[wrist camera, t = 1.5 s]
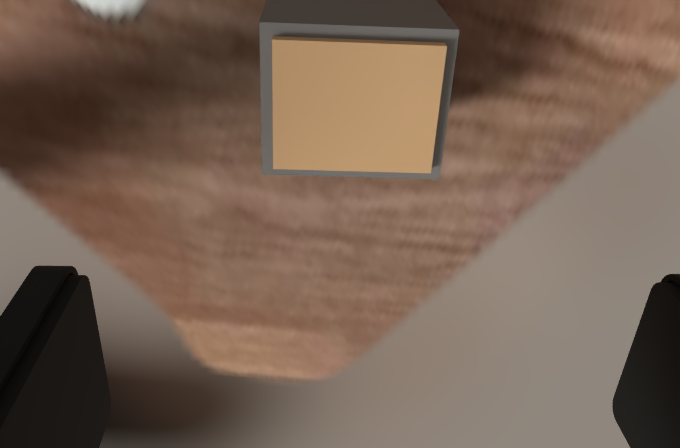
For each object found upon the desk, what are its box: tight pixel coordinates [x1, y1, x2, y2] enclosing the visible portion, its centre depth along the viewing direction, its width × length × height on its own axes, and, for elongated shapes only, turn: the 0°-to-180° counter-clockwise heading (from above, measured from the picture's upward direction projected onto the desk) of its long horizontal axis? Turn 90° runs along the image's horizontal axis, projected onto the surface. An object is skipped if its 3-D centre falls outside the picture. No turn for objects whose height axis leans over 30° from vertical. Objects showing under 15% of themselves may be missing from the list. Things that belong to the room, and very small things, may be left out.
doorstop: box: [259, 0, 460, 179], centre depth 23 cm, size 6×5×6 cm
